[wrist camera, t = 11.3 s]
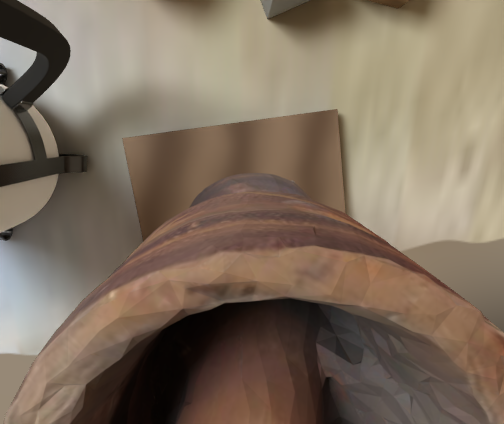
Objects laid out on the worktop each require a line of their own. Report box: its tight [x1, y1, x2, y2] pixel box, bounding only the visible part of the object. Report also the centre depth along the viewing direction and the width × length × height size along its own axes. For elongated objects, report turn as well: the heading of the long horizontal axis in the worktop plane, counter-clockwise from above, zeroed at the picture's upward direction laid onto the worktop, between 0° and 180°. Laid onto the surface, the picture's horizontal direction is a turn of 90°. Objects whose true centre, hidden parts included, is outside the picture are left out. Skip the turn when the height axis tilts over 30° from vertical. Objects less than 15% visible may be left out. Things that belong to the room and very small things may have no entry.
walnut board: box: [122, 109, 346, 242], centre depth 33 cm, size 18×16×2 cm
